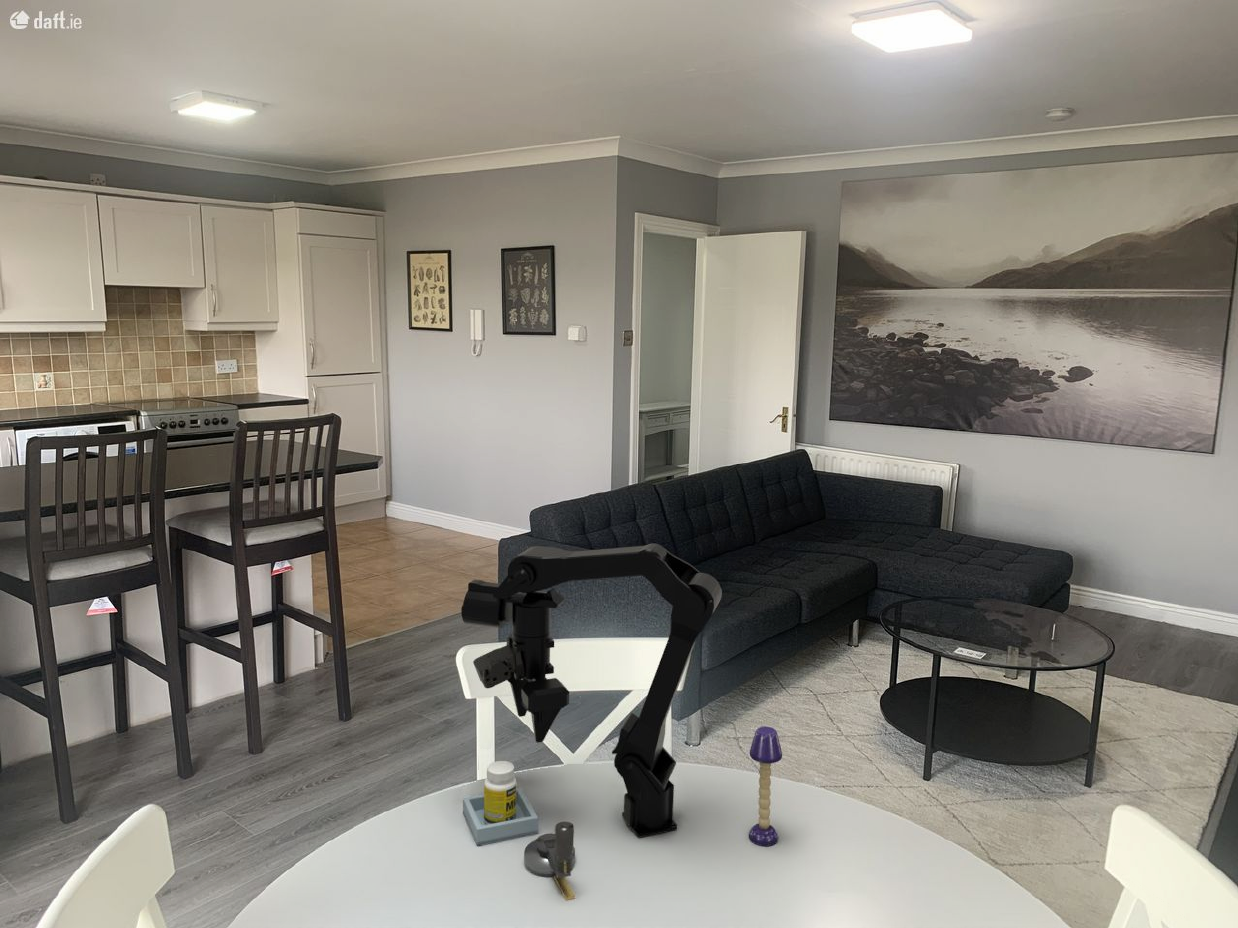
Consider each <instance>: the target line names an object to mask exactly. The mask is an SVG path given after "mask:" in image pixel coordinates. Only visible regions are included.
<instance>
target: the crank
mask: <svg viewBox="0 0 1238 928" xmlns="http://www.w3.org/2000/svg"><path fill="white" fill-rule="evenodd" d="M554 826H555V827H554V829H555V830H554V831H555V832H554V833H552V832H550V833H549V832H548V833H544V834H541V835H539V836H538V838H536V839H537V852H538V853H539V854H541V855H543V856H547V858H548V860H549V862H550V864H551V866H552V868H553V870H554V872H555V874H556V876H557V878H562V877H565V878H567V877H571V874H572V873H571V872H572V871H573V868H574V866H573V846H574V837H575V836H574V833H575V832H574V829H575V827H574V823H572V822H570V821H559V822H558V823H556V824H555V825H554Z"/></svg>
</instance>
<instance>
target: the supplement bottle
mask: <svg viewBox="0 0 1238 928" xmlns="http://www.w3.org/2000/svg"><path fill="white" fill-rule="evenodd" d="M483 786H484V788H483V794H484V822H485V823H486V824H487V825H488V824H494V823H499V822H504V821H509V820H514V819H516V788H517V779H516V777H515V766H514V764H513V763H512V762H510V761H508V760H507V761H506V760H497V761H493V762H491V763H489V764H488V766H487V767H486V778H485V780H484V783H483Z"/></svg>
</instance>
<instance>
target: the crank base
mask: <svg viewBox="0 0 1238 928" xmlns="http://www.w3.org/2000/svg"><path fill="white" fill-rule="evenodd" d="M537 839H538V838H536V839H535V840H532V841H531V842H529V843H528V844H527V845H526V846H525V848H524V852H523V854H524V855H523V864H524V868H526V870H527V871H528V872H529V873H531V874H533V875H536V876H538V877H545V878H551V877H552V878H554V881H555V882H556V885H557V887H558V888H559V890H560V891H561V894H562V895H563V897H564V899H565V901H569V900H573V899H576V895H575V893H574V891H573V889H572V888H571V886H570V884H569V882H568V880H567V879H566V877H562V878H557V876H556V874H555V872H554V870H553V868H552V866H551V864H550V862H549V860H548V858H547V856H543V855H541V854H539V853H538V852H537ZM575 863H576V848H575V847H574V845H573V867H574V866H575Z"/></svg>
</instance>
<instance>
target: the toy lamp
mask: <svg viewBox="0 0 1238 928" xmlns="http://www.w3.org/2000/svg"><path fill="white" fill-rule="evenodd" d="M749 757H750V758H751V759H752V760H753V761H755V762H758V763H759V766H760V767H759V769H758V774H759V779H758V784H759V788H758V795H759V797H758V801H757V802H758V806H759V807H758V811H757V812H758V816H759V817H758V823H756V824H754V825H753V826H752V827H751V828H750V830H749V834H748V839H749V840H750V842H752V844H755V845H758V846H760V847H768V846H773V845H775V844H777V843H778V841H779V836H778V833H777V830H776V829H775V827H773V826H772V825H771V818H770V816H771V808H770V807H771V798H770V797H771V794H772V793H771V784H772V781H771V780H772V779H771V776H772V775H771V774H772V769H771V767H772V764H776V763H777V762H779V761H781V760H782V758H783V752H782V747H781V744H780V738H779V735H778V732H777V730H776V729H775V728H774V727H771V726H764V725H763V726H759V727H758V728H757V729H756V730H755V732H754V736H753V738H752V743H751V746H750V749H749Z"/></svg>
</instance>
